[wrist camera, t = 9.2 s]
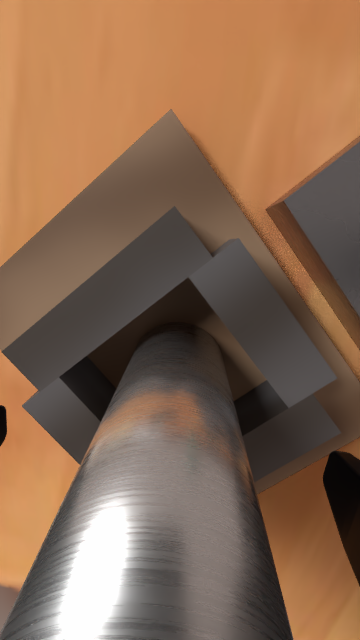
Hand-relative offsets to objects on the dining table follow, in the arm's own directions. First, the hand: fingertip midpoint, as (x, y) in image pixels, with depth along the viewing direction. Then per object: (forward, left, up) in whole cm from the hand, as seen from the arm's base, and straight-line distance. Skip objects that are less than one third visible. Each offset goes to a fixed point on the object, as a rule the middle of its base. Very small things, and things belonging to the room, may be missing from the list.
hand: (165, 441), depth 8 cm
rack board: (0, 0, -6) cm, 6 cm away
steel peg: (0, 0, -5) cm, 5 cm away
